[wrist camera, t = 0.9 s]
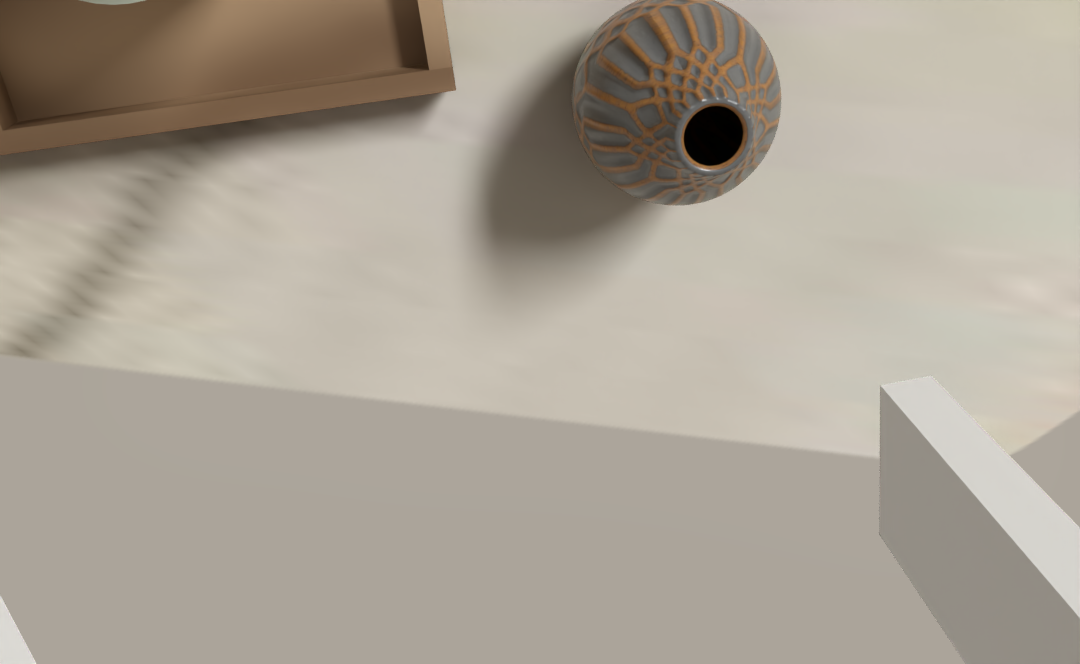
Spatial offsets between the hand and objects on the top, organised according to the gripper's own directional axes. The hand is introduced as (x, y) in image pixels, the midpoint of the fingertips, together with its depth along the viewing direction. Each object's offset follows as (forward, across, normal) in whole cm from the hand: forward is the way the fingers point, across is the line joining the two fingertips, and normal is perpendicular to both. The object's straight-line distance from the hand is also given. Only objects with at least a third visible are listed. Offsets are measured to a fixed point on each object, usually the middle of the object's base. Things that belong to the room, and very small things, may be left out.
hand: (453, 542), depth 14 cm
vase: (+25, +8, 0) cm, 26 cm away
